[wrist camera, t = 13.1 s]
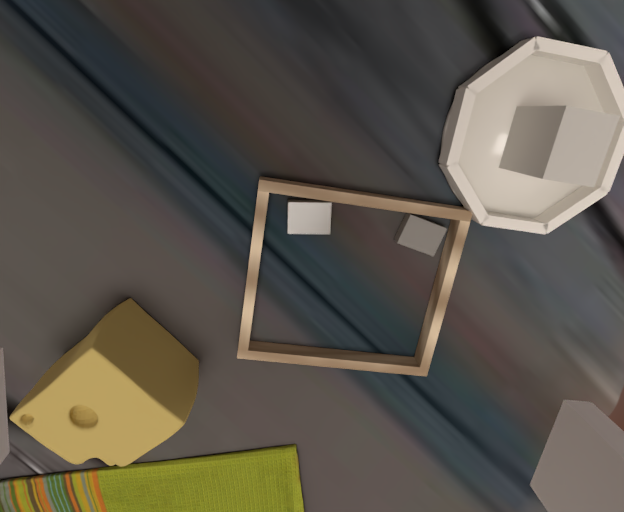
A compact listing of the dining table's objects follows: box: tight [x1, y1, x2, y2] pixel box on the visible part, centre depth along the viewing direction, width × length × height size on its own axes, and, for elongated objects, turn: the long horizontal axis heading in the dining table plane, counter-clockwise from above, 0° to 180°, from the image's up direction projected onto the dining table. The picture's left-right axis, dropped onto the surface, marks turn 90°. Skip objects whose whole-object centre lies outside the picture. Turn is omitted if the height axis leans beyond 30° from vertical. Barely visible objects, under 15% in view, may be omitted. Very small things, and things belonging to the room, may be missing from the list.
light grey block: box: [287, 200, 332, 234], centre depth 41 cm, size 3×4×2 cm
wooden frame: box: [237, 176, 472, 376], centre depth 43 cm, size 18×20×2 cm
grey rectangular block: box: [394, 213, 447, 256], centre depth 42 cm, size 3×4×2 cm
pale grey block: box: [499, 106, 620, 187], centre depth 37 cm, size 6×4×7 cm
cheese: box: [10, 298, 199, 467], centre depth 40 cm, size 10×11×10 cm
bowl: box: [438, 36, 624, 234], centre depth 39 cm, size 16×16×3 cm
